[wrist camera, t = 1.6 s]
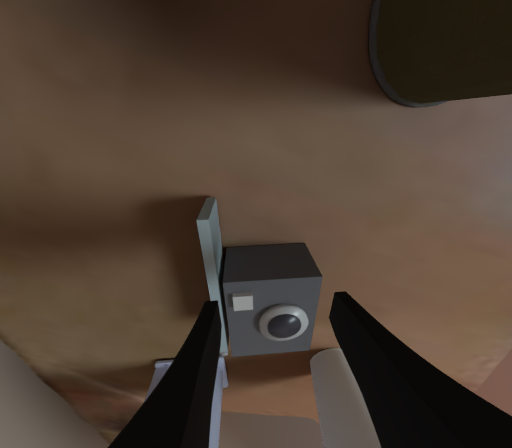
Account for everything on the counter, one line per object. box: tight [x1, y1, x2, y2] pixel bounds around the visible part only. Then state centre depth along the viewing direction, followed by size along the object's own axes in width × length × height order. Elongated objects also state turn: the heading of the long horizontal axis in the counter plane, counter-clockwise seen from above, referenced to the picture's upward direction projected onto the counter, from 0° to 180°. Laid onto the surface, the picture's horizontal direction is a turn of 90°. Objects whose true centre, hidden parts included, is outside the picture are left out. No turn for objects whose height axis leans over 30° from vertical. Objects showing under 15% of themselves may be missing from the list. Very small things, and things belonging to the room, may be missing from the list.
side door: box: [196, 197, 229, 356], centre depth 19 cm, size 1×15×4 cm, turn 1°
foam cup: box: [310, 348, 381, 448], centre depth 25 cm, size 10×9×13 cm
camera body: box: [223, 243, 322, 357], centre depth 20 cm, size 8×10×6 cm
